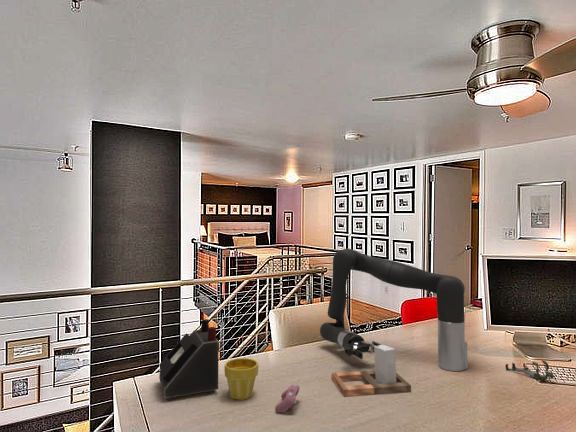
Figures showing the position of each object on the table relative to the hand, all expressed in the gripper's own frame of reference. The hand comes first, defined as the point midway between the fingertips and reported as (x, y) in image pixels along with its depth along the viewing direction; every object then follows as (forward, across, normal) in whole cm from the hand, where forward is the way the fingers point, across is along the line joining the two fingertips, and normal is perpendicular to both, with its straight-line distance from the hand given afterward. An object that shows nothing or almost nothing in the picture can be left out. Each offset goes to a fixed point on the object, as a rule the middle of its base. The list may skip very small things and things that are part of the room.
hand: (372, 354), depth 137 cm
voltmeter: (-10, -62, +7) cm, 64 cm away
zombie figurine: (+18, +52, +8) cm, 55 cm away
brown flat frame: (+7, -5, +7) cm, 11 cm away
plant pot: (+1, -47, +7) cm, 47 cm away
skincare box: (+8, 0, +8) cm, 11 cm away
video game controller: (+12, -36, +8) cm, 38 cm away
